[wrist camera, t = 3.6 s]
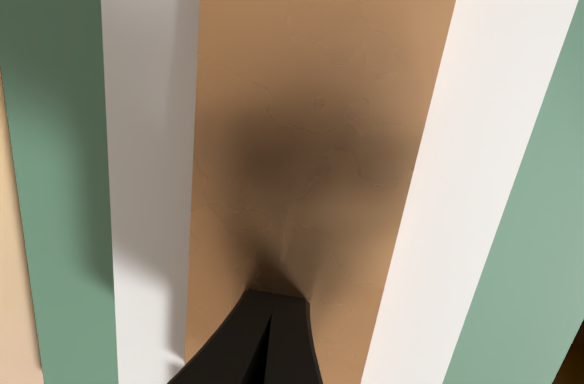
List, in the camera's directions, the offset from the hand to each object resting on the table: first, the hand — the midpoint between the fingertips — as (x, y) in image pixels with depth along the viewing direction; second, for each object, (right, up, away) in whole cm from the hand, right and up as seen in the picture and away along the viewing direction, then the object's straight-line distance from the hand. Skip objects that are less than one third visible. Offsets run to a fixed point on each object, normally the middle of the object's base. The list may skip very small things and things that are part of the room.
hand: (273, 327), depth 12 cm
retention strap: (+1, +3, -1) cm, 4 cm away
